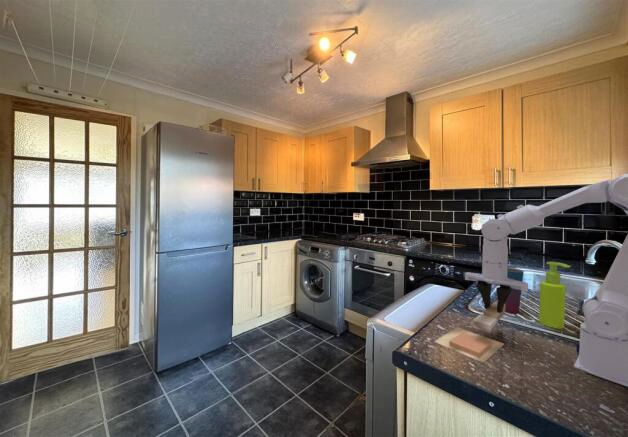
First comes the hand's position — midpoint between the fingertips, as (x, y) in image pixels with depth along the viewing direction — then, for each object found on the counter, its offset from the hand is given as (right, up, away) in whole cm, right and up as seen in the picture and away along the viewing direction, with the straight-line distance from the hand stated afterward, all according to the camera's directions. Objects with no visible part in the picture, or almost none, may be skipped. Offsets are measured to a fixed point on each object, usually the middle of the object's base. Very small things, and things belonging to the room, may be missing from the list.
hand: (493, 310), depth 72 cm
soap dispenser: (+25, -8, +9) cm, 28 cm away
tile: (-6, -7, -2) cm, 10 cm away
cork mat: (-9, -8, -3) cm, 12 cm away
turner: (-1, -3, -1) cm, 3 cm away
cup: (+20, -8, +20) cm, 30 cm away
